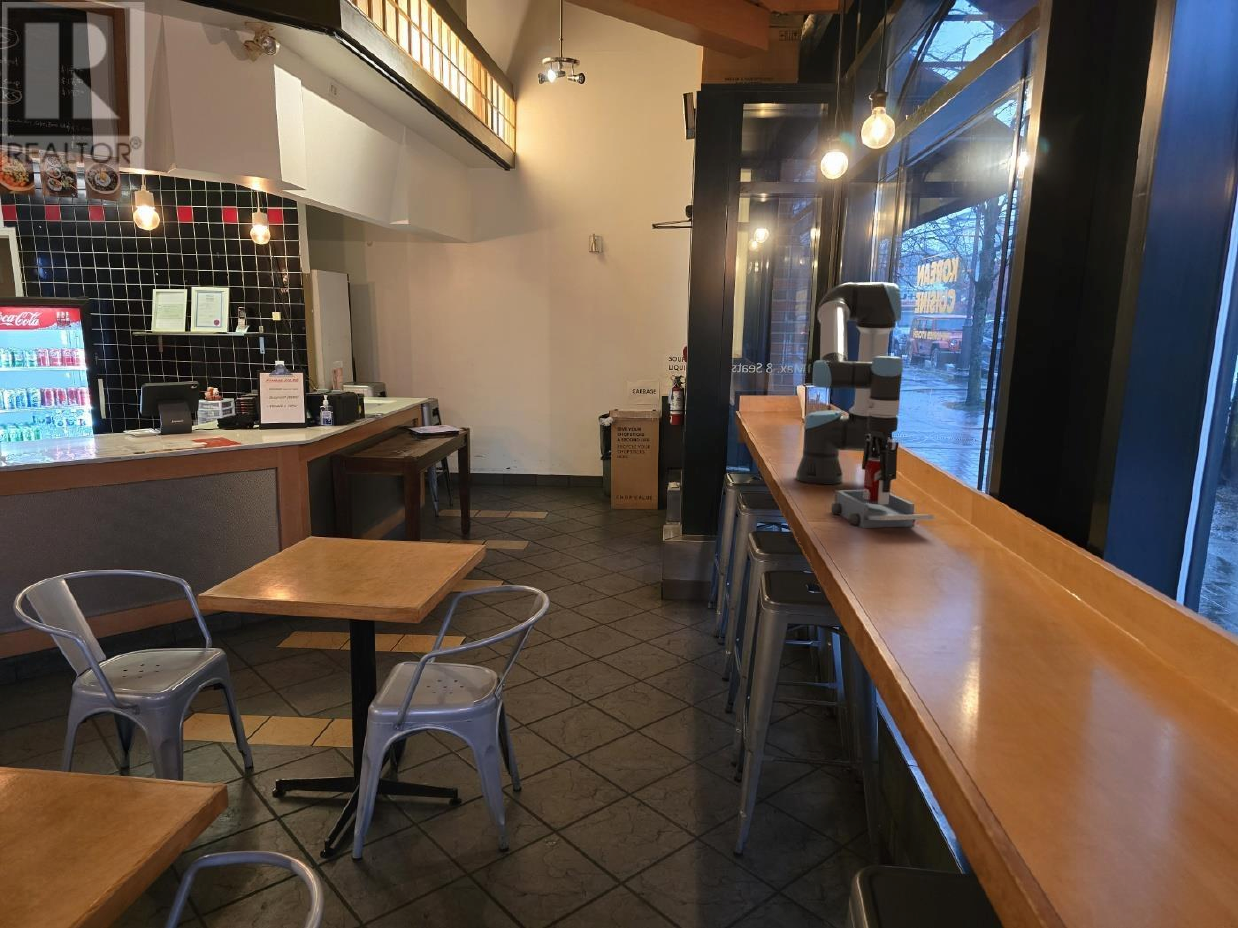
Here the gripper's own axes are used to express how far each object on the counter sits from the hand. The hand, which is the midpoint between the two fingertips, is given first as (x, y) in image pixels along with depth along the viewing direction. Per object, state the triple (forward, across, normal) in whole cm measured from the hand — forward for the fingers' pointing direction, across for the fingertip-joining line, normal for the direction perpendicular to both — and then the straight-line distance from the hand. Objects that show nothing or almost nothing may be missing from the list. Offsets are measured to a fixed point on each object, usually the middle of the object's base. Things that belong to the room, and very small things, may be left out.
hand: (876, 500), depth 199 cm
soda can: (+1, 0, 0) cm, 1 cm away
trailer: (+5, -1, 0) cm, 6 cm away
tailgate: (+2, +8, 0) cm, 8 cm away
